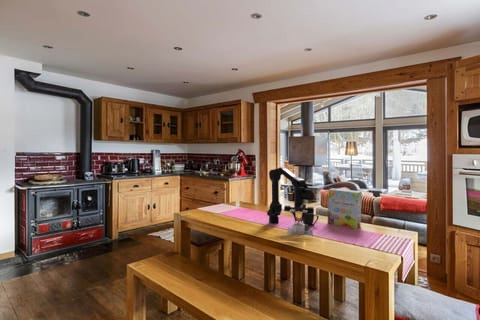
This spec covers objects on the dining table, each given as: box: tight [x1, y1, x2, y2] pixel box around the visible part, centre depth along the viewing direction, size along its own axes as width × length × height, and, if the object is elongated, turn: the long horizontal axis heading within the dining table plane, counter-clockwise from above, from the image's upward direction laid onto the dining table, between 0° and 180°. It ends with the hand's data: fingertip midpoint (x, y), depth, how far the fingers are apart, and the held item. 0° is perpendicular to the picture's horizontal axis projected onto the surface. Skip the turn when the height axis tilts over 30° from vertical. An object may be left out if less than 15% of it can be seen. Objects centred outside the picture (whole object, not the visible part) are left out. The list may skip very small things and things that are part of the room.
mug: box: [302, 211, 320, 227], centre depth 191 cm, size 8×12×10 cm
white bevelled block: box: [291, 221, 309, 233], centre depth 175 cm, size 10×8×5 cm
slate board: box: [286, 227, 314, 237], centre depth 175 cm, size 16×13×1 cm
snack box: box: [327, 187, 363, 230], centre depth 195 cm, size 22×9×26 cm, turn 50°
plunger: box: [296, 216, 302, 224], centre depth 175 cm, size 5×5×8 cm
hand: (298, 222), depth 175 cm, fingers closed on plunger, 3 cm apart
